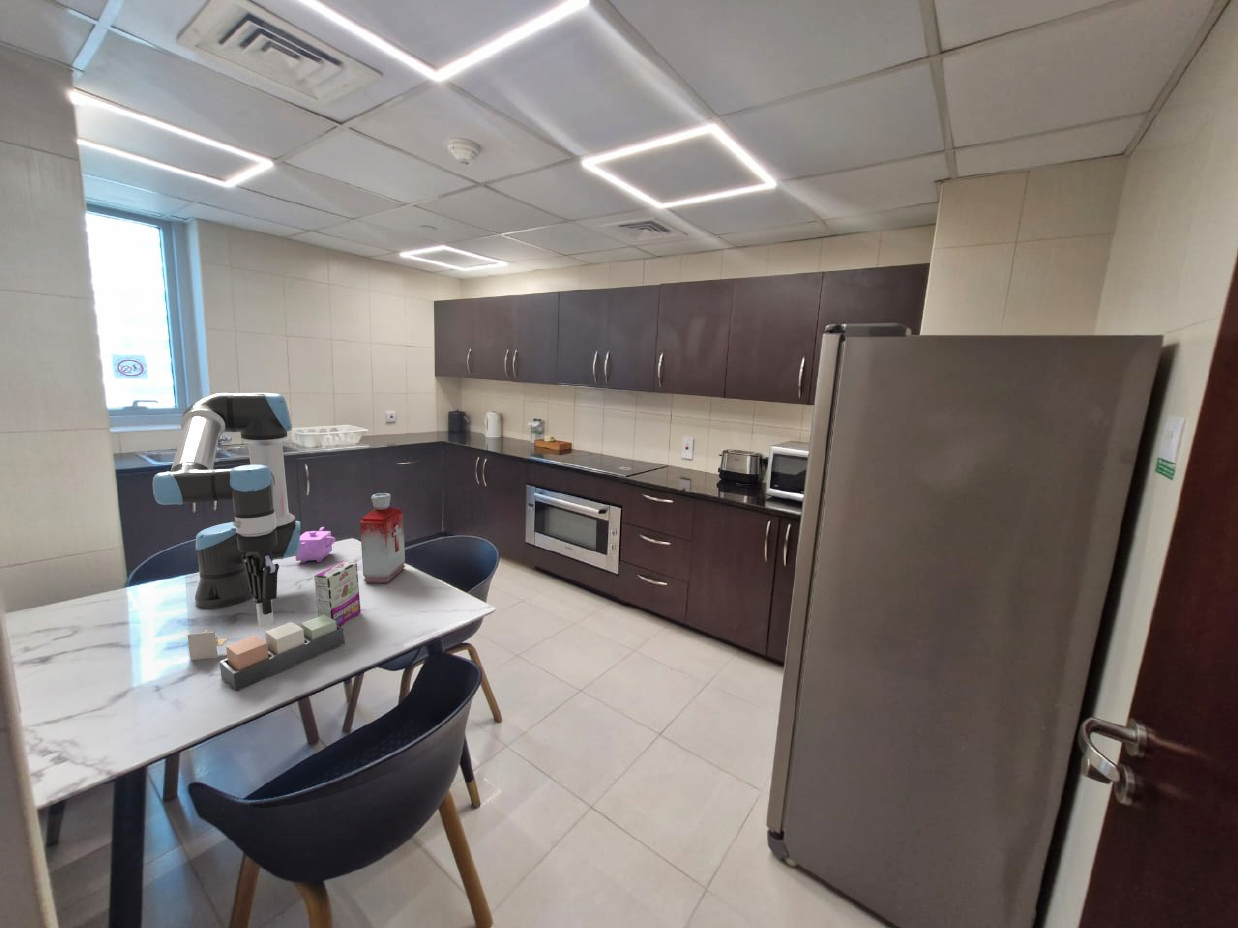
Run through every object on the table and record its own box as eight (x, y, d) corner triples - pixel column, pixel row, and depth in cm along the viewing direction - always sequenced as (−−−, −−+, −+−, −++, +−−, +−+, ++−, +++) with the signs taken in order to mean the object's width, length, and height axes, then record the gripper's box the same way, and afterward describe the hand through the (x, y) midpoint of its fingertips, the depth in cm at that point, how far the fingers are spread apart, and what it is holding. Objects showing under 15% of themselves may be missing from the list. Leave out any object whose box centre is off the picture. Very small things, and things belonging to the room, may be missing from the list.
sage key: (302, 640, 129) (300, 623, 128) (325, 631, 134) (324, 614, 133) (313, 648, 125) (312, 630, 124) (337, 638, 130) (336, 621, 129)
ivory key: (267, 650, 122) (265, 631, 121) (293, 639, 127) (291, 621, 126) (278, 658, 118) (276, 639, 118) (304, 647, 123) (303, 629, 123)
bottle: (389, 584, 167) (385, 500, 162) (360, 583, 167) (354, 499, 162) (408, 568, 181) (405, 490, 176) (381, 567, 182) (376, 489, 176)
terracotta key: (228, 665, 115) (226, 646, 114) (257, 653, 120) (255, 635, 119) (239, 674, 112) (237, 654, 111) (269, 662, 117) (267, 643, 116)
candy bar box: (346, 610, 149) (343, 560, 146) (361, 613, 148) (358, 562, 145) (317, 629, 138) (313, 574, 135) (332, 631, 137) (328, 577, 134)
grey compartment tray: (221, 678, 115) (219, 661, 114) (329, 634, 135) (328, 619, 135) (236, 691, 111) (233, 673, 110) (344, 643, 131) (343, 628, 130)
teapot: (287, 558, 186) (284, 530, 184) (325, 549, 197) (323, 523, 195) (303, 569, 177) (300, 540, 175) (341, 559, 188) (340, 532, 186)
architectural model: (197, 654, 125) (193, 627, 123) (229, 650, 127) (226, 624, 126) (190, 661, 122) (186, 634, 120) (223, 658, 124) (220, 631, 122)
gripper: (224, 530, 114) (235, 623, 118) (251, 541, 107) (261, 639, 111) (261, 522, 120) (270, 611, 124) (288, 532, 113) (296, 625, 118)
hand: (266, 624), depth 118 cm, fingers closed
